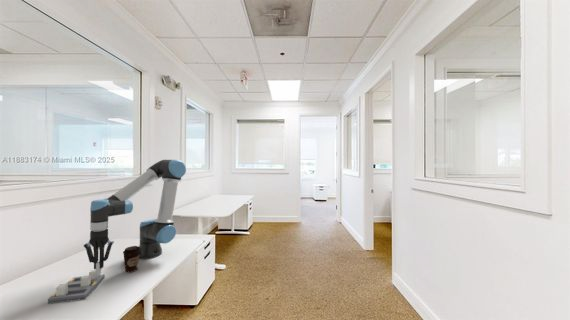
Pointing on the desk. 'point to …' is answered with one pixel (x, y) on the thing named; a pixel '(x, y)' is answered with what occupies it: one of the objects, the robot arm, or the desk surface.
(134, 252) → the coffee cup
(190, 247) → the desk surface
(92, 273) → the tab
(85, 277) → the tab
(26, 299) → the desk surface
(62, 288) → the tab
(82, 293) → the switch board
